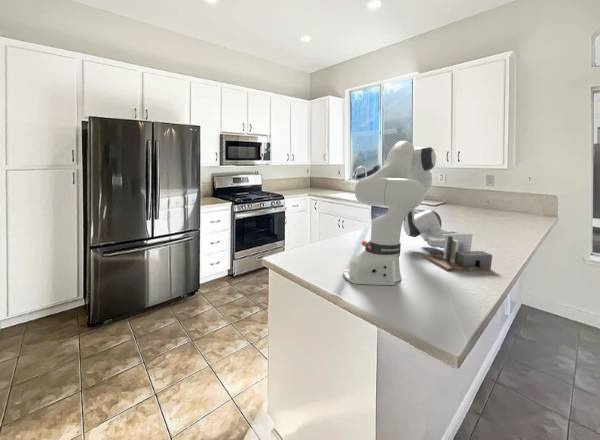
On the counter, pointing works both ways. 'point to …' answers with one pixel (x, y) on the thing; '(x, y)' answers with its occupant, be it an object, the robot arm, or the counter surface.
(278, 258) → the counter surface
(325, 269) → the counter surface
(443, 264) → the stand
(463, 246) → the light grey boxy piece
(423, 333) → the counter surface
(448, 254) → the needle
